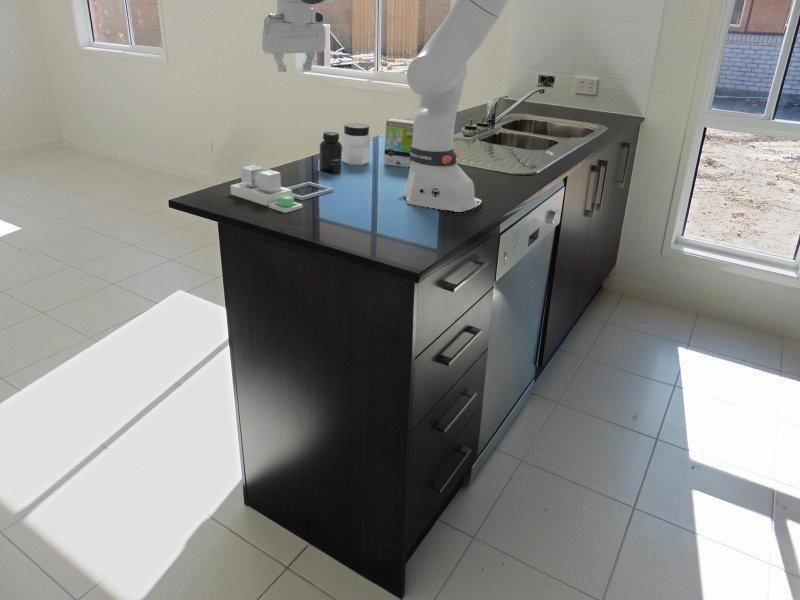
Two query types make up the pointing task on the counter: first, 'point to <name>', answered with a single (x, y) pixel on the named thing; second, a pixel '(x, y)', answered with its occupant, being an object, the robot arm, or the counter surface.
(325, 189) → the tote
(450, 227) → the counter surface
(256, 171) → the block
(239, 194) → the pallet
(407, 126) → the tea box
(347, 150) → the jar
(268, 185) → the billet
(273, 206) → the button housing
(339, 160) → the supplement bottle
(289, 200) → the button
